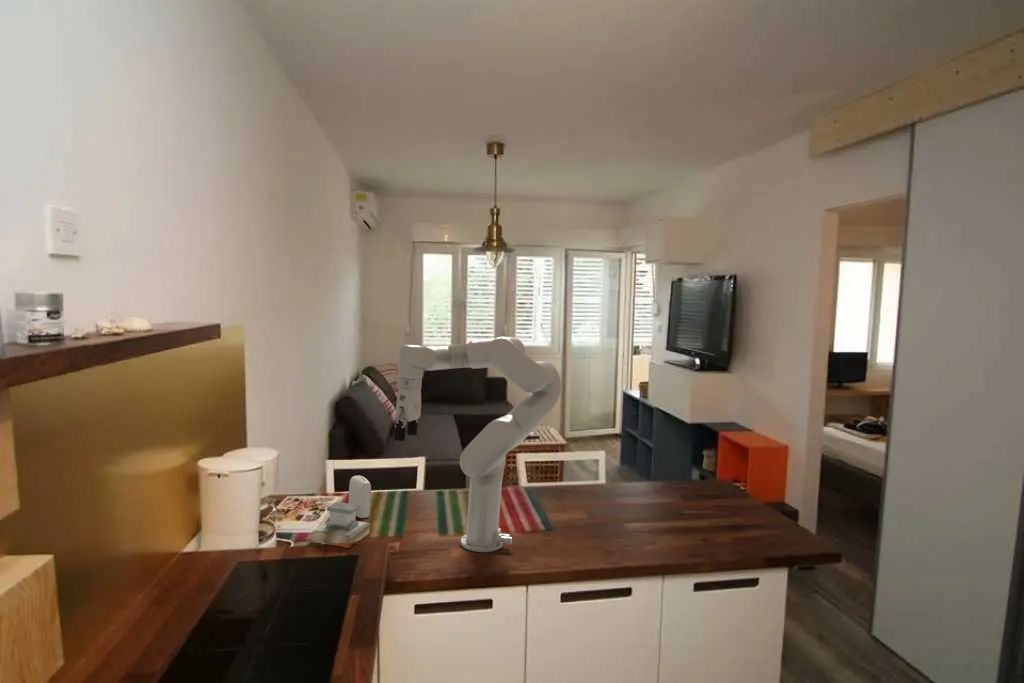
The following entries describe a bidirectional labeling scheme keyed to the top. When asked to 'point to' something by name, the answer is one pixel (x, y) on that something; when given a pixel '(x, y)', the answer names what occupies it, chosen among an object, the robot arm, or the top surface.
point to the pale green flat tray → (339, 534)
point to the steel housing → (342, 516)
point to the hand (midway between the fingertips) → (405, 437)
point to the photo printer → (360, 495)
